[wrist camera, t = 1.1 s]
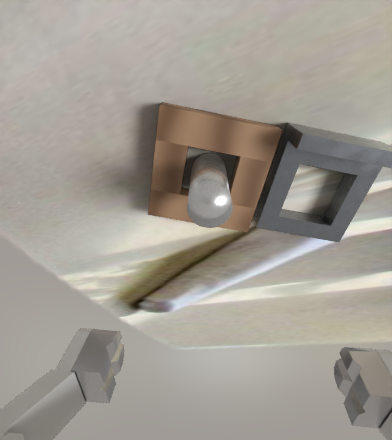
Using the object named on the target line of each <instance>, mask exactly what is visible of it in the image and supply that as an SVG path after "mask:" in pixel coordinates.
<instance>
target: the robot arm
mask: <svg viewBox="0 0 392 440" xmlns="http://www.w3.org/2000/svg"><path fill="white" fill-rule="evenodd" d="M121 338H122V336H121V332H120V331H109V330H98V329H87V328H80V329H79V330H78V331H77V332H76V334H75V336H74V337H73V339H72V341H71V343H70V344H69V346H68V348H67V350H66V352H65V353H64V355H63V357H62V359H61V360H60V362H59V364H58V366H57V368H56V369H55V370H50V371H49V372H48V373H46V374H45V375H44V376H43V377H41V378H40V379H39V380H37V381H36V382H35V383H34V384H32V385H31V386H30V387H28V388H27V389H26V390H25V391H24V392H22V393H21V394H19V395H18V396H17V397H15V398H14V399H13V400H12V401H10V402H9V403H8V404H7V405H5V406H4V407H3V408H1V409H0V440H53V439H54V438H55V437H56V436H57V435H58V433H59V432H60V431H61V430H62V429H63V428H64V427H65V426H66V425H67V424H68V423H69V421H70V420H71V419H72V418H73V417H74V416H75V415H76V414H77V412H79V410H80V409H81V408H82V407H83V406H84V405H85V404H86V402H99V403H109V402H110V399H111V397H112V394H113V390H114V387H115V385H116V382H115V378H114V376H115V375H117V374H118V373H119V372H120V370H121V367H122V364H123V358H124V346H123V344H122V343H121V342H120V340H121ZM340 355H341V359H339V360H337V361H336V363H335V366H334V376H335V381H336V384H337V387H338V389H339V390H340V391H341V392H342V394H344V396H345V401H344V405H345V408H346V411H347V413H348V416H349V418H350V421H351V424H352V425H353V426H361V427H369V428H378V429H379V431H380V432H381V433H382V434H383V436H384V437H385V438H386V439H387V440H392V352H391V351H388V350H373V349H366V348H348V347H347V348H346V347H345V348H342V349H341V351H340Z"/></svg>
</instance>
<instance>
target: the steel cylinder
mask: <svg viewBox="0 0 392 440" xmlns="http://www.w3.org/2000/svg"><path fill="white" fill-rule="evenodd" d="M232 208H233V207H232V200H231V195H230V189H229V184H228V179H227V173H226V168H225V164H224V161H223V160H222V159H221V158H220V157H219V156H218V155H216V154H213V153H205V154H202V155H200V156H199V157H198V158H197V159H196V160H195V161H194V163H193V166H192V174H191V181H190V188H189V195H188V202H187V212H188V215H189V217H190V218H191V220H192V221H193V222H194V223H196V224H197V225H199V226H202V227H207V228H212V227H217V226H220V225H222V224H223V223H225V222H226V221H227V220H228V219H229V217H230V216H231V213H232Z"/></svg>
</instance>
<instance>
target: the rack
mask: <svg viewBox="0 0 392 440" xmlns="http://www.w3.org/2000/svg"><path fill="white" fill-rule="evenodd" d="M299 164H303V165H308V166H313V167H318V168H324V169H329V170H334V171H339V172H344V173H346V174H345V176H344V178H343V179H342V181H341V183H340V185H339V187H338V189H337V191H336V193H335V195H334V197H333V199H332V201H331V203H330V205H329V207H328V209H327V211H326V213H325V215H324V217H322V216H317V215H311V214H306V213H301V212H295V211H290V210H284V209H282V206H283V204H284V201H285V199H286V196H287V194H288V191H289V189H290V186H291V184H292V181H293V179H294V176H295V174H296V171H297V169H298V166H299ZM382 166H383V167H388V168H392V147H391V146H389V145H387V144H385V143H382V142H379V141H374V140H369V139H364V138H360V137H355V136H350V135H345V134H340V133H336V132H331V131H326V130H321V129H316V128H311V127H307V126H302V125H297V124H292V123H287V125H286V127H285V130H284V133H283V136H282V139H281V142H280V145H279V148H278V150H277V153H276V156H275V159H274V162H273V165H272V168H271V171H270V173H269V176H268V179H267V182H266V185H265V188H264V191H263V194H262V196H261V199H260V202H259V205H258V208H257V211H256V214H255V217H254V221H255V224H256V227H257V228H262V229H268V230H273V231H279V232H284V233H290V234H295V235H301V236H307V237H312V238H318V239H323V240H329V241H335V242H339V241H340V240H341V238H342V236H343V235H344V233H345V231H346V229H347V228H348V226H349V224H350V222H351V221H352V219H353V217H354V215H355V214H356V212H357V210H358V208H359V207H360V205H361V203H362V201H363V200H364V198H365V196H366V194H367V193H368V191H369V189H370V187H371V186H372V184H373V182H374V180H375V179H376V177H377V175H378V173H379V172H380V170H381V168H382Z"/></svg>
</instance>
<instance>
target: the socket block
mask: <svg viewBox="0 0 392 440" xmlns="http://www.w3.org/2000/svg"><path fill="white" fill-rule="evenodd" d="M282 131H283V130H282V129H281V128H279V127H278V126H275V125H270V124H266V123H261V122H256V121H251V120H246V119H241V118H236V117H232V116H227V115H222V114H217V113H212V112H207V111H202V110H198V109H193V108H188V107H183V106H178V105H173V104H168V103H164V102H163V103H161V104H160V105H159V115H158V124H157V134H156V143H155V153H154V162H153V172H152V181H151V190H150V200H149V209H148V215H153V216H159V217H165V218H170V219H176V220H181V221H187V222H193V221H192V220H191V218H190V217H189V215H188V212H187V202H188V195H189V188H184V187H181V186H182V180H183V174H184V168H185V162H186V156H187V151H188V146H190V147H195V148H200V149H205V150H210V151H215V152H220V153H226V154H231V155H236V156H237V158H236V162H235V166H234V169H233V173H232V177H231V181H230V184H229V189H230V195H231V200H232V207H233V208H232V213H231V216H230V217H229V219H228V220H227V221H226V222H225V223H223V224H222V225H220V226H217V227H221V228H227V229H232V230H238V231H243V232H248V230H249V227H250V224H251V221H252V218H253V215H254V212H255V209H256V206H257V203H258V201H259V198H260V195H261V192H262V189H263V186H264V183H265V180H266V177H267V174H268V172H269V169H270V166H271V163H272V160H273V157H274V154H275V151H276V148H277V145H278V143H279V140H280V137H281V134H282ZM193 223H194V222H193Z"/></svg>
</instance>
